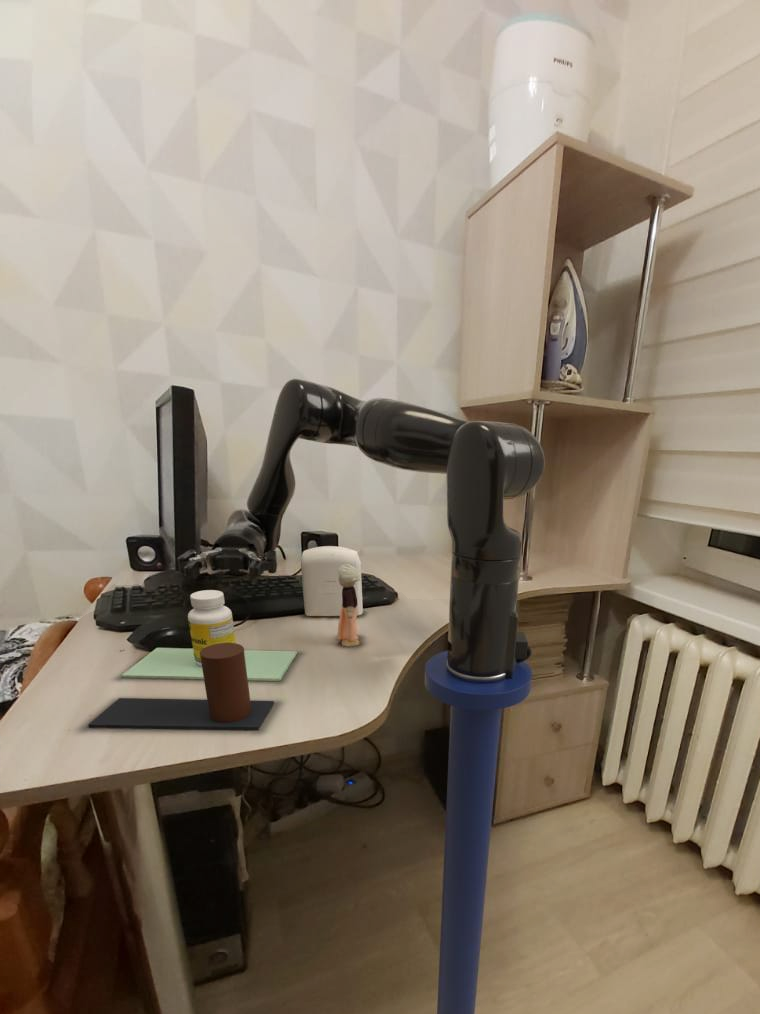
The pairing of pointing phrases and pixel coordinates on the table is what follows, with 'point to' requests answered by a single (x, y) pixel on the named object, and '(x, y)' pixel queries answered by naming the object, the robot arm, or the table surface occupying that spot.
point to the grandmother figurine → (348, 605)
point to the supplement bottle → (209, 621)
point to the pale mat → (185, 667)
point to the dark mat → (174, 715)
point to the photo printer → (327, 579)
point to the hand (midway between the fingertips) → (221, 573)
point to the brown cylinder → (226, 682)
